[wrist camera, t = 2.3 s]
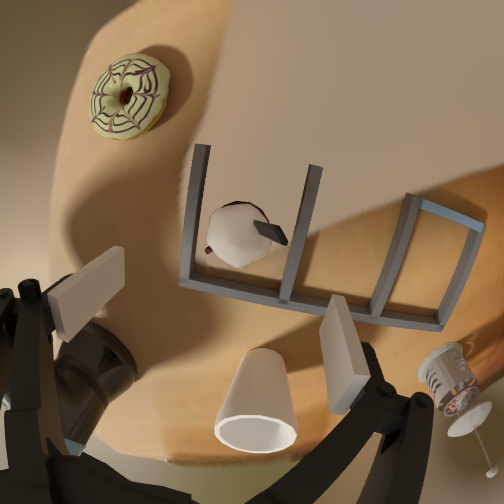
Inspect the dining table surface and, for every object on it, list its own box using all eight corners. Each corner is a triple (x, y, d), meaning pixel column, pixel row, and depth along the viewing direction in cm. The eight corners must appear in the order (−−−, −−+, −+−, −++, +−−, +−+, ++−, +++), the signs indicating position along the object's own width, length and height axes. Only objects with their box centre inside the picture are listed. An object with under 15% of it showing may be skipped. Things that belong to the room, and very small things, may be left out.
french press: (458, 332, 33) (529, 444, 10) (466, 366, 36) (517, 463, 13) (411, 365, 36) (460, 492, 13) (425, 394, 39) (462, 498, 16)
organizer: (183, 278, 34) (177, 287, 32) (200, 144, 28) (193, 143, 26) (436, 324, 33) (442, 334, 31) (478, 221, 27) (488, 226, 25)
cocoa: (214, 251, 33) (179, 308, 22) (203, 201, 31) (156, 237, 20) (294, 243, 31) (295, 301, 20) (287, 188, 29) (285, 220, 18)
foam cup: (253, 328, 36) (240, 404, 24) (307, 357, 37) (313, 430, 25) (220, 367, 39) (201, 436, 27) (270, 391, 40) (265, 458, 28)
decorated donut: (186, 61, 25) (175, 52, 21) (161, 146, 29) (147, 147, 25) (115, 58, 25) (99, 51, 21) (94, 135, 29) (76, 135, 25)
